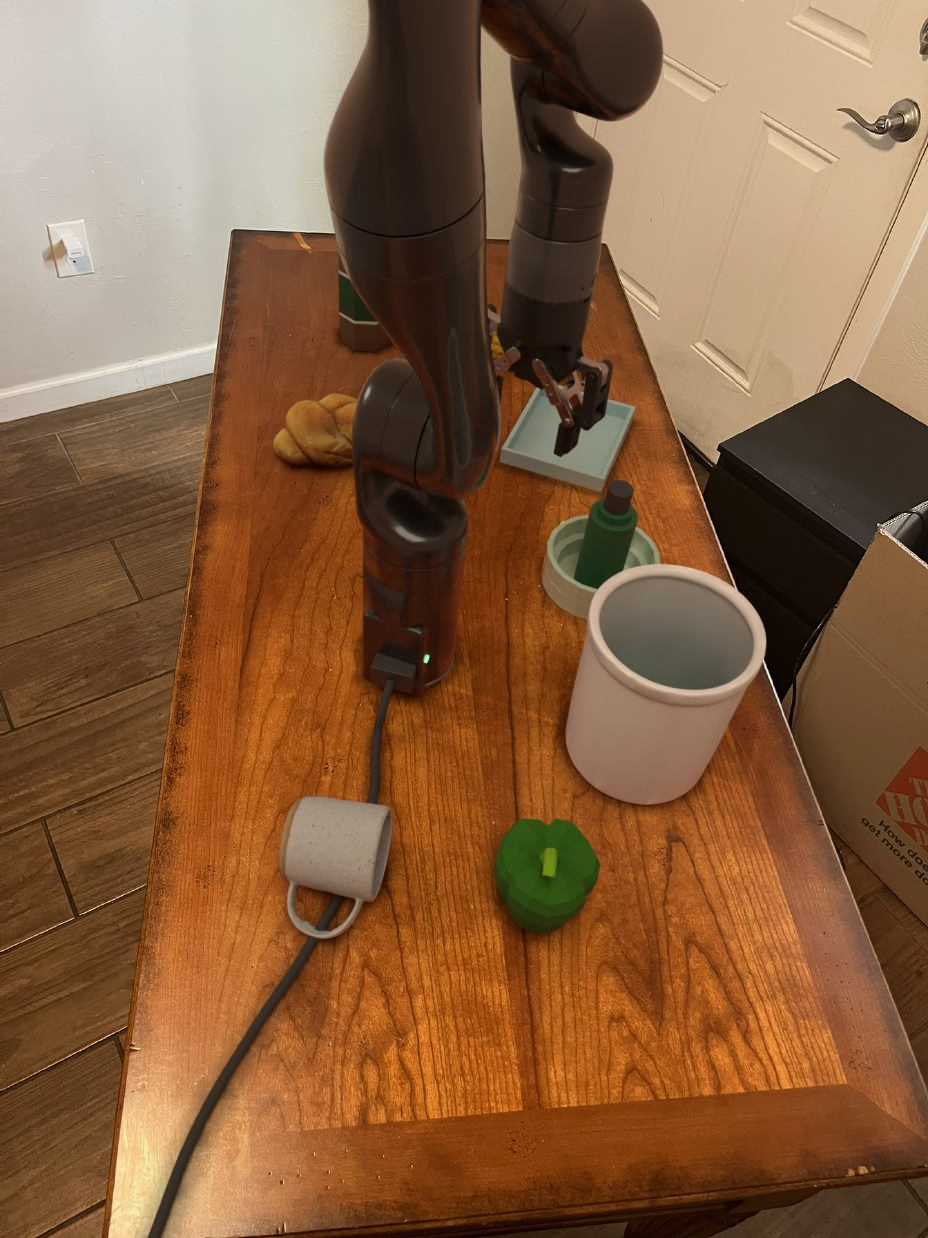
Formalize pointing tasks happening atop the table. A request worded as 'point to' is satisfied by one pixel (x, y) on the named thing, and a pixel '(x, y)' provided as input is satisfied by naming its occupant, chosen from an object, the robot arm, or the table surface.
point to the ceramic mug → (334, 852)
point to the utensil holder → (659, 680)
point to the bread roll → (318, 432)
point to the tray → (583, 463)
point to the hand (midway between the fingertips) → (525, 432)
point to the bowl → (565, 557)
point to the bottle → (607, 536)
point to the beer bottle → (357, 319)
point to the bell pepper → (544, 873)
